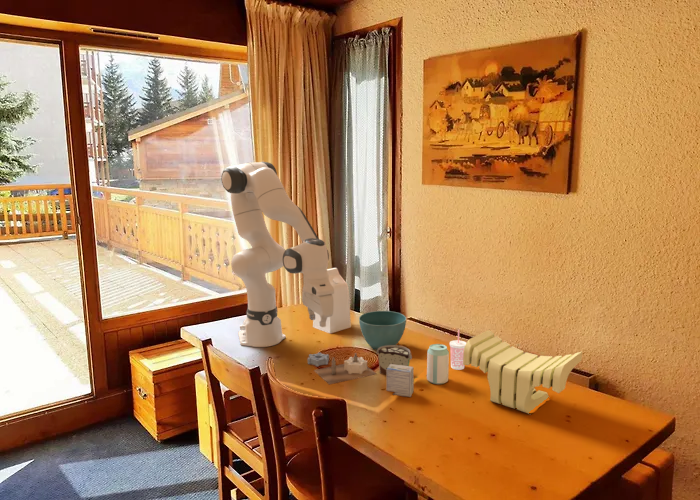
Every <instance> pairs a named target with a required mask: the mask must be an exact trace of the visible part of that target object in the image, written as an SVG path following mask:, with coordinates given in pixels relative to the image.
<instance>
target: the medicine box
mask: <svg viewBox="0 0 700 500" xmlns="http://www.w3.org/2000/svg"><path fill="white" fill-rule="evenodd" d="M386 391H387V392H393V393H392V395H393V396H401V397H407V398H408V397H409V398H412V394H413V393H414V366H412V365H411V366H410V365H409V366H403V365H394V364H390V365H389V367H388V368H387V375H386Z"/></svg>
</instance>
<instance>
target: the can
mask: <svg viewBox="0 0 700 500" xmlns="http://www.w3.org/2000/svg"><path fill="white" fill-rule="evenodd" d="M426 351H427V354H426V355H427V356H426V358H427V359H426V366H427V367H426V380H427V381H428V382H429V383H431V384H434V385H443V384H445V383H447V382H448V381H449V369H450V368H449V365H450V363H449V362H450V361H449V360H450V359H449V357H450V353H449V352H450V350H449V349H448V347H447V345H445V344H443V343H441V344H440V343H434V344H430V345H429V348H428V349H427V350H426Z"/></svg>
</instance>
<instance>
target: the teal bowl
mask: <svg viewBox="0 0 700 500" xmlns="http://www.w3.org/2000/svg"><path fill="white" fill-rule="evenodd" d="M358 321H359V328H360V331H361V334H362V336H363V338H364V339H365V341H366V343H367V344H368V346H369V347H370V348H371V349H372V350H375V351H377V350H378V348H380V347H382V346H387V345H398V344H399V342H400V341H401V339H402V337H403V335H404V332H405V329H406V325H407V316H406V315H404V314H402V313H401V312H396V311H391V310H374V311H368V312H365V313H363V314H361V315H360V316H359V317H358Z"/></svg>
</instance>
